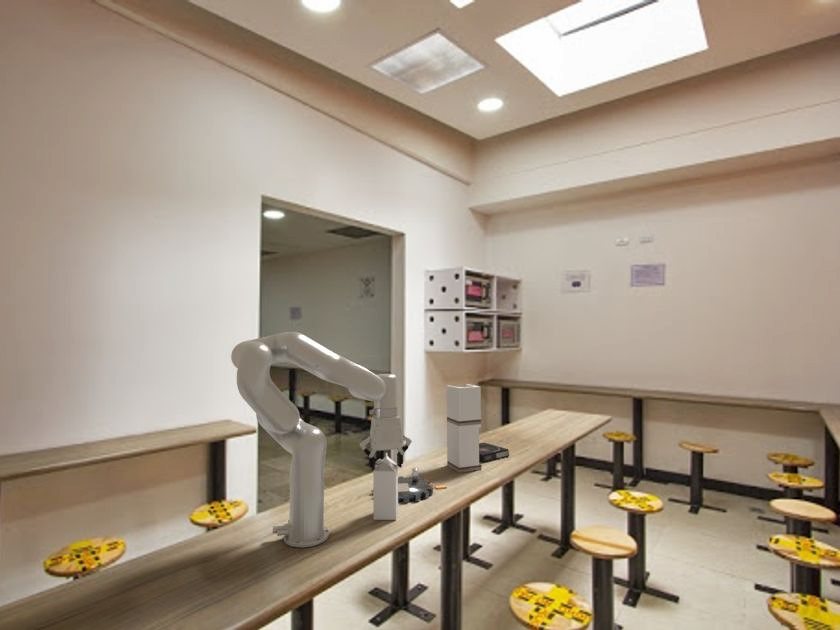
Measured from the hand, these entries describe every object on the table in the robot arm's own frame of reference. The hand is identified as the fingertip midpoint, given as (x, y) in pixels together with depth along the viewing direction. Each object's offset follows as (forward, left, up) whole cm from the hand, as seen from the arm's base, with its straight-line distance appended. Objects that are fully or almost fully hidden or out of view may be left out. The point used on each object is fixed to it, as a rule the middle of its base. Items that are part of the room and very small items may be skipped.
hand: (386, 467), depth 145 cm
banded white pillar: (+44, +40, -15) cm, 61 cm away
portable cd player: (+60, +54, -16) cm, 82 cm away
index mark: (+25, +19, -15) cm, 35 cm away
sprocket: (+11, +19, -15) cm, 27 cm away
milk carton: (0, 0, -15) cm, 15 cm away
